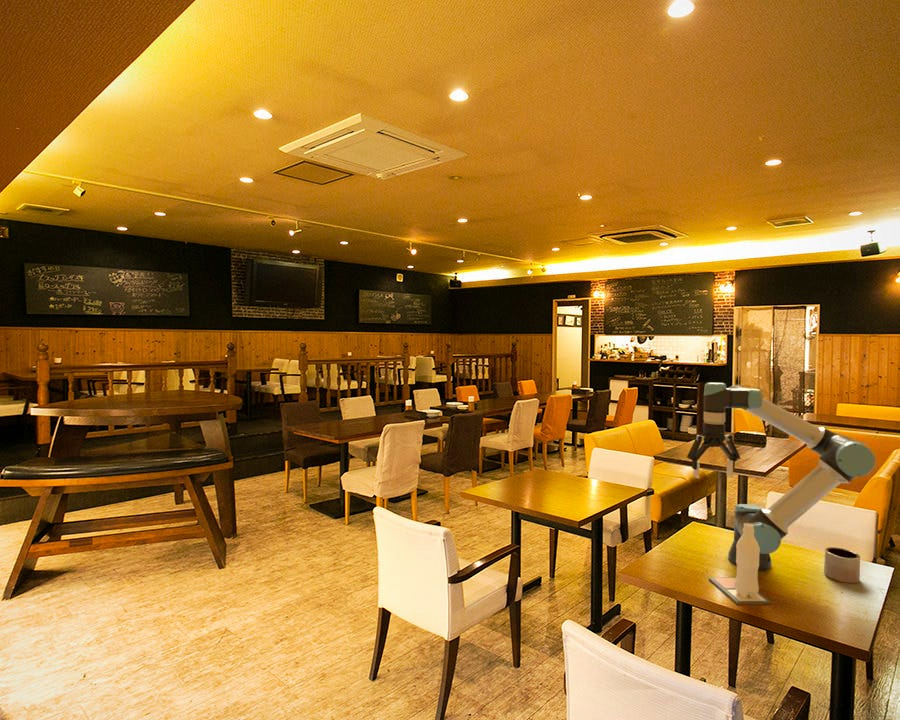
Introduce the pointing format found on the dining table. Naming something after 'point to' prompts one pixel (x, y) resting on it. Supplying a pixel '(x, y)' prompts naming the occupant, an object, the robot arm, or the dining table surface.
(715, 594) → the dining table surface
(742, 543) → the water bottle
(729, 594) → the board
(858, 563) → the planter
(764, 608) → the dining table surface
